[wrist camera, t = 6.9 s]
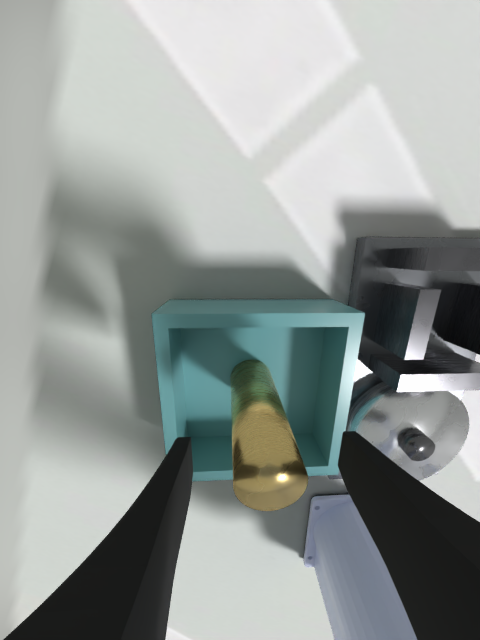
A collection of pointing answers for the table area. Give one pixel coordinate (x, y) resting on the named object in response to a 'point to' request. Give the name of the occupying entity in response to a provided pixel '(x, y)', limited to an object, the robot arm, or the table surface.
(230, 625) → the table surface
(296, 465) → the pin
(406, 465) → the plate
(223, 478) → the tray
